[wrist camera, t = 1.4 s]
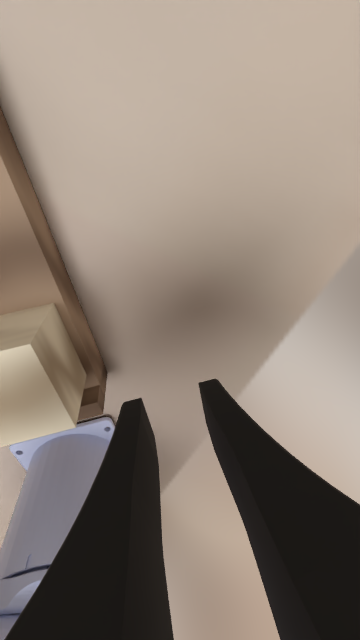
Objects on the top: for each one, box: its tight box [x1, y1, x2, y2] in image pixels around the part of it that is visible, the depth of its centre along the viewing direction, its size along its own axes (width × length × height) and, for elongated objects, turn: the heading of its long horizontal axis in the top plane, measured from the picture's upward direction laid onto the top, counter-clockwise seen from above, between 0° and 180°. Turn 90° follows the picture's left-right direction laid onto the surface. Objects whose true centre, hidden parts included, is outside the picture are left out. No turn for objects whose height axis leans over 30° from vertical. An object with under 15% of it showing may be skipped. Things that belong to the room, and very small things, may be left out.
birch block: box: [0, 303, 87, 447], centre depth 14 cm, size 5×5×4 cm
